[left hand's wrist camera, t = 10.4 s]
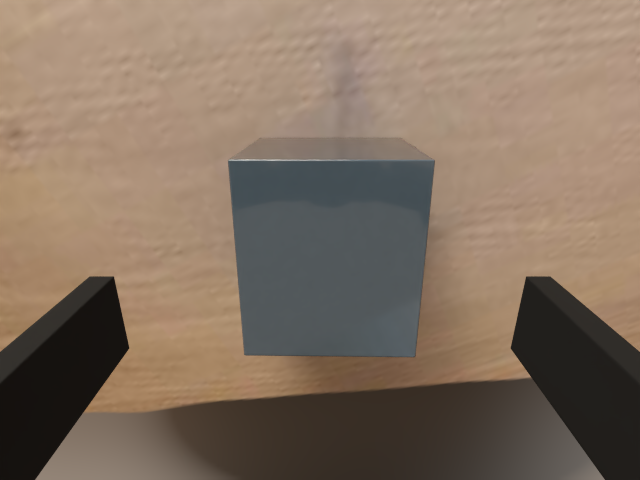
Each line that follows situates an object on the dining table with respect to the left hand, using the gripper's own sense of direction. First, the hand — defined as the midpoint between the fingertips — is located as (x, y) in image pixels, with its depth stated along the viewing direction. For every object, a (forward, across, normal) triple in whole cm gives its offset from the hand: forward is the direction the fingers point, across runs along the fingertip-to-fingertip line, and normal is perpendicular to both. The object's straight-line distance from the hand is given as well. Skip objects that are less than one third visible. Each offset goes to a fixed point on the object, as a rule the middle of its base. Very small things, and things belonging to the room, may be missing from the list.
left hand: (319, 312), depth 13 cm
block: (+12, -1, 0) cm, 12 cm away
